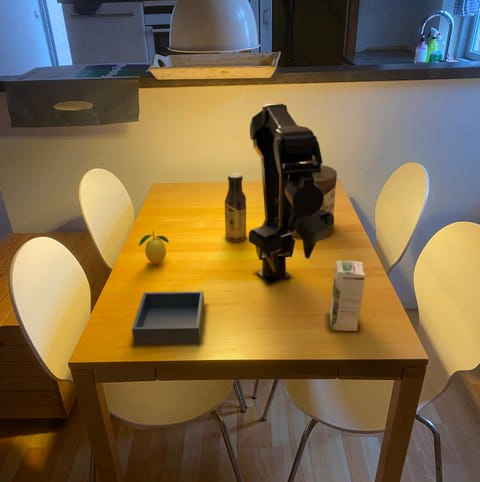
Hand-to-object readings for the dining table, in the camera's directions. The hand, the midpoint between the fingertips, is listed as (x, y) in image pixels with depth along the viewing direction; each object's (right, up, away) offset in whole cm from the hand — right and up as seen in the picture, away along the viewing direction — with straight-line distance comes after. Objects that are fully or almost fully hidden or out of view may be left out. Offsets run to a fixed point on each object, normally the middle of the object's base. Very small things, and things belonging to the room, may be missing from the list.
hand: (291, 264), depth 102 cm
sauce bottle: (-12, +10, +40) cm, 43 cm away
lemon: (-34, +1, +28) cm, 44 cm away
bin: (-27, -13, +5) cm, 30 cm away
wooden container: (+10, +13, +44) cm, 47 cm away
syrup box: (+12, -13, +4) cm, 18 cm away
